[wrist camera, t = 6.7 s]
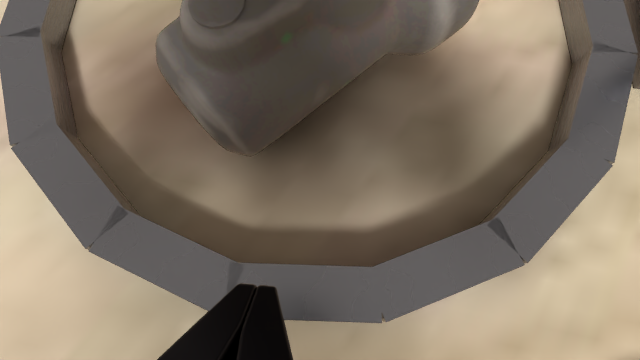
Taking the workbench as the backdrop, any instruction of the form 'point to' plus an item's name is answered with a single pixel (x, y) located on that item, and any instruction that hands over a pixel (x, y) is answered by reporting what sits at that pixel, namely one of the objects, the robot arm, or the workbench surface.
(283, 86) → the pipe fitting
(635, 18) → the stand
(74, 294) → the workbench surface
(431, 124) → the workbench surface
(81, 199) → the ring
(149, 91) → the workbench surface
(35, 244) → the workbench surface
